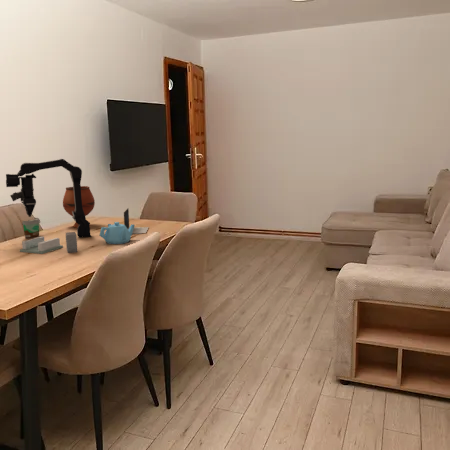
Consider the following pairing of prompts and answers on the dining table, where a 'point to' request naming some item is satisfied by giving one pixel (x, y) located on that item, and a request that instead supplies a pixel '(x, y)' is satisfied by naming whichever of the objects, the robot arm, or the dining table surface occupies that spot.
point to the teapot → (116, 233)
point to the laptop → (137, 229)
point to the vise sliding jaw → (32, 242)
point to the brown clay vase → (87, 201)
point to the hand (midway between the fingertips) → (28, 215)
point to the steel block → (71, 242)
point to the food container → (31, 228)
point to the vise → (44, 246)
